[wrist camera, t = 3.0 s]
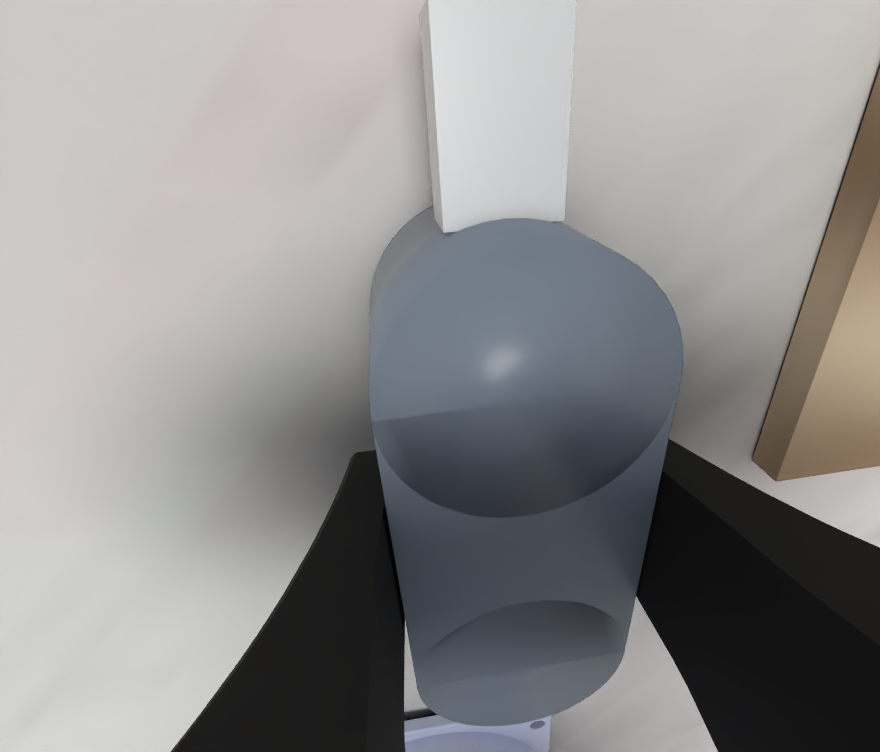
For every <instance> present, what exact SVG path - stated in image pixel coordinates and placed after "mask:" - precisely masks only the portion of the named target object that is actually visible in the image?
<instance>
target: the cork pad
mask: <svg viewBox="0 0 880 752" xmlns="http://www.w3.org/2000/svg"><path fill="white" fill-rule="evenodd" d="M752 461H753V462H754V463H756V464H757V465H758V466H759V467H760V468H761V469H762V470H763V471H765V472H766V473H767V474H768V475H769V476H770V477H771V478H772V479H774V480H775V481H783V480H789V479H796V478H802V477H809V476H816V475H822V474H829V473H835V472H842V471H849V470H855V469H862V468H868V467H875V466H880V69H879V72H878V75H877V78H876V81H875V84H874V87H873V90H872V94H871V97H870V100H869V103H868V106H867V109H866V112H865V115H864V118H863V121H862V124H861V127H860V130H859V133H858V137H857V140H856V143H855V146H854V149H853V152H852V155H851V158H850V161H849V164H848V167H847V170H846V173H845V177H844V180H843V183H842V186H841V189H840V192H839V195H838V198H837V201H836V204H835V207H834V210H833V213H832V216H831V220H830V223H829V226H828V229H827V232H826V235H825V238H824V241H823V244H822V247H821V250H820V253H819V256H818V260H817V263H816V266H815V269H814V272H813V275H812V278H811V281H810V284H809V287H808V290H807V293H806V296H805V299H804V303H803V306H802V309H801V312H800V315H799V318H798V321H797V324H796V327H795V330H794V333H793V336H792V339H791V342H790V346H789V349H788V352H787V355H786V358H785V361H784V364H783V367H782V370H781V373H780V376H779V379H778V382H777V386H776V389H775V392H774V395H773V398H772V401H771V404H770V407H769V410H768V413H767V416H766V419H765V422H764V425H763V429H762V432H761V435H760V438H759V441H758V444H757V447H756V450H755V453H754V456H753V459H752Z"/></svg>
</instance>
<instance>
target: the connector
mask: <svg viewBox="0 0 880 752" xmlns="http://www.w3.org/2000/svg"><path fill="white" fill-rule="evenodd" d="M576 7H577V0H426V1H425V3H424V5H423V7H422V10H421V12H420V14H419V18H420V32H421V45H422V58H423V72H424V85H425V99H426V112H427V126H428V139H429V152H430V166H431V179H432V193H433V206H432V207H430V208H428V209H426V210H425V211H423V212H422V213H420V214H418V215H417V216H415V217H414V218H413V219H412V220H411V221H409V222H408V223H407V224H406V225H405V226H404V227H403V228H402V229H401V230H400V231H399V232H398V233H397V234H396V235H395V237H394V238H393V239H392V240H391V242H390V243H389V245H388V246H387V248H386V249H385V251H384V253H383V255H382V257H381V259H380V261H379V263H378V266H377V268H376V271H375V274H374V277H373V283H372V288H371V298H370V382H369V406H370V416H371V425H372V430H373V436H374V442H375V448H376V453H377V459H378V465H379V471H380V476H381V482H382V488H383V494H384V499H385V505H386V511H387V517H388V522H389V528H390V534H391V540H392V545H393V551H394V557H395V563H396V568H397V574H398V580H399V586H400V591H401V597H402V603H403V608H404V614H405V620H406V626H407V631H408V637H409V643H410V649H411V654H412V660H413V666H414V672H415V677H416V683H417V689H418V692H419V695H420V697H421V699H422V701H423V702H424V703H425V705H426V706H427V707H428V708H429V709H430V710H432V711H433V712H434V713H436V714H437V715H439V716H441V717H443V718H445V719H448V720H451V721H453V722H457V723H461V724H466V725H473V726H507V725H514V724H521V723H526V722H530V721H534V720H538V719H541V718H545V717H548V716H550V715H553V714H556V713H558V712H561V711H563V710H565V709H568V708H570V707H572V706H573V705H575V704H577V703H579V702H581V701H582V700H584V699H586V698H587V697H589V696H590V695H591V694H593V693H594V692H595V691H597V690H598V689H599V688H600V687H601V686H603V685H604V684H605V683H606V682H607V681H608V680H609V678H610V677H611V676H612V675H613V674H614V672H615V671H616V669H617V668H618V666H619V664H620V662H621V660H622V657H623V654H624V651H625V646H626V641H627V636H628V631H629V627H630V622H631V617H632V612H633V607H634V602H635V598H636V593H637V588H638V583H639V578H640V574H641V569H642V564H643V559H644V554H645V549H646V545H647V540H648V535H649V530H650V525H651V521H652V516H653V511H654V506H655V501H656V496H657V492H658V487H659V482H660V477H661V472H662V468H663V463H664V458H665V453H666V448H667V443H668V439H669V434H670V429H671V424H672V419H673V414H674V410H675V405H676V400H677V395H678V390H679V386H680V381H681V373H682V366H683V344H682V338H681V332H680V327H679V324H678V321H677V318H676V315H675V312H674V310H673V308H672V306H671V304H670V302H669V300H668V298H667V297H666V295H665V293H664V292H663V291H662V290H661V288H660V287H659V286H658V284H657V283H656V282H655V281H654V279H652V278H651V277H650V276H649V275H648V274H647V273H646V272H645V271H644V270H643V269H641V268H640V267H639V266H638V265H636V264H634V263H633V262H631V261H630V260H628V259H627V258H625V257H624V256H622V255H620V254H618V253H616V252H614V251H613V250H611V249H609V248H607V247H605V246H603V245H601V244H600V243H598V242H596V241H594V240H592V239H590V238H588V237H586V236H585V235H583V234H581V233H579V232H577V231H575V230H573V229H572V228H570V227H568V226H566V225H564V224H562V223H560V222H559V221H564V219H565V201H566V184H567V166H568V148H569V131H570V113H571V95H572V78H573V60H574V43H575V25H576Z"/></svg>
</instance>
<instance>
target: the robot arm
mask: <svg viewBox="0 0 880 752" xmlns="http://www.w3.org/2000/svg"><path fill="white" fill-rule="evenodd" d="M636 596H637V598H638V600H639V602H640V603H641V605H642V607H643V608H644V610H645V612H646V614H647V615H648V617H649V619H650V620H651V622H652V624H653V626H654V627H655V629H656V631H657V632H658V634H659V636H660V638H661V639H662V641H663V643H664V645H665V646H666V648H667V650H668V651H669V653H670V655H671V657H672V658H673V660H674V662H675V664H676V666H677V668H678V670H679V671H680V673H681V675H682V677H683V679H684V681H685V683H686V685H687V686H688V688H689V691H690V693H691V695H692V697H693V699H694V701H695V703H696V705H697V708H698V710H699V712H700V714H701V716H702V718H703V720H704V723H705V725H706V727H707V729H708V731H709V733H710V735H711V737H712V740H713V742H714V744H715V746H716V748H717V750H718V752H880V548H879V547H877V546H875V545H872V544H870V543H868V542H866V541H863V540H861V539H859V538H857V537H854V536H852V535H850V534H848V533H845V532H843V531H841V530H839V529H837V528H834V527H832V526H830V525H828V524H826V523H824V522H822V521H820V520H818V519H816V518H813V517H811V516H809V515H807V514H805V513H804V512H802V511H800V510H798V509H796V508H794V507H792V506H790V505H788V504H786V503H784V502H782V501H780V500H778V499H776V498H774V497H772V496H770V495H768V494H766V493H764V492H762V491H761V490H759V489H757V488H755V487H753V486H751V485H749V484H747V483H746V482H744V481H742V480H740V479H738V478H737V477H735V476H733V475H731V474H729V473H727V472H726V471H724V470H722V469H720V468H719V467H717V466H715V465H713V464H711V463H710V462H708V461H706V460H704V459H703V458H701V457H699V456H697V455H696V454H694V453H692V452H691V451H689V450H687V449H685V448H684V447H682V446H680V445H678V444H677V443H675V442H673V441H672V440H670V439H668V443H667V448H666V453H665V458H664V463H663V468H662V472H661V477H660V482H659V487H658V492H657V496H656V501H655V506H654V511H653V516H652V521H651V525H650V530H649V535H648V540H647V545H646V549H645V554H644V559H643V564H642V569H641V574H640V578H639V583H638V588H637V593H636ZM404 645H405V614H404V608H403V603H402V597H401V591H400V586H399V580H398V574H397V568H396V563H395V557H394V551H393V545H392V540H391V534H390V528H389V522H388V517H387V511H386V505H385V499H384V494H383V488H382V482H381V476H380V471H379V465H378V459H377V453H376V450H373V451H365V452H358V453H355V454H354V455H353V457H352V458H351V459H350V462H349V465H348V468H347V471H346V473H345V476H344V478H343V481H342V483H341V486H340V488H339V490H338V492H337V495H336V497H335V499H334V501H333V503H332V506H331V508H330V510H329V512H328V514H327V516H326V518H325V520H324V522H323V524H322V526H321V528H320V530H319V532H318V534H317V536H316V538H315V540H314V542H313V543H312V545H311V547H310V549H309V551H308V553H307V554H306V556H305V558H304V560H303V561H302V563H301V565H300V566H299V568H298V570H297V572H296V573H295V575H294V577H293V579H292V580H291V582H290V584H289V585H288V587H287V589H286V591H285V592H284V594H283V596H282V597H281V599H280V600H279V602H278V604H277V605H276V607H275V608H274V610H273V612H272V613H271V615H270V616H269V618H268V619H267V621H266V622H265V624H264V625H263V627H262V628H261V630H260V631H259V633H258V634H257V636H256V637H255V639H254V640H253V642H252V643H251V645H250V646H249V648H248V649H247V651H246V652H245V653H244V655H243V656H242V658H241V659H240V661H239V662H238V663H237V665H236V666H235V668H234V669H233V670H232V672H231V673H230V674H229V676H228V677H227V678H226V680H225V681H224V683H223V684H222V685H221V687H220V688H219V689H218V691H217V692H216V693H215V695H214V696H213V697H212V699H211V700H210V701H209V703H208V704H207V706H206V707H205V708H204V710H203V711H202V712H201V714H200V715H199V716H198V718H197V719H196V720H195V721H194V723H193V724H192V725H191V727H190V728H189V729H188V731H187V732H186V733H185V734H184V736H183V737H182V738H181V739H180V741H179V742H178V743H177V745H176V746H175V747H174V748H173V750H172V751H171V752H549V742H550V730H551V719H552V715H550V716H548V717H545V718H541V719H538V720H534V721H530V722H526V723H521V724H514V725H507V726H473V725H466V724H461V723H457V722H453V721H451V720H448V719H445V718H443V717H441V716H439V715H434V716H429V717H423V718H418V719H412V720H407V721H404Z"/></svg>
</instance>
